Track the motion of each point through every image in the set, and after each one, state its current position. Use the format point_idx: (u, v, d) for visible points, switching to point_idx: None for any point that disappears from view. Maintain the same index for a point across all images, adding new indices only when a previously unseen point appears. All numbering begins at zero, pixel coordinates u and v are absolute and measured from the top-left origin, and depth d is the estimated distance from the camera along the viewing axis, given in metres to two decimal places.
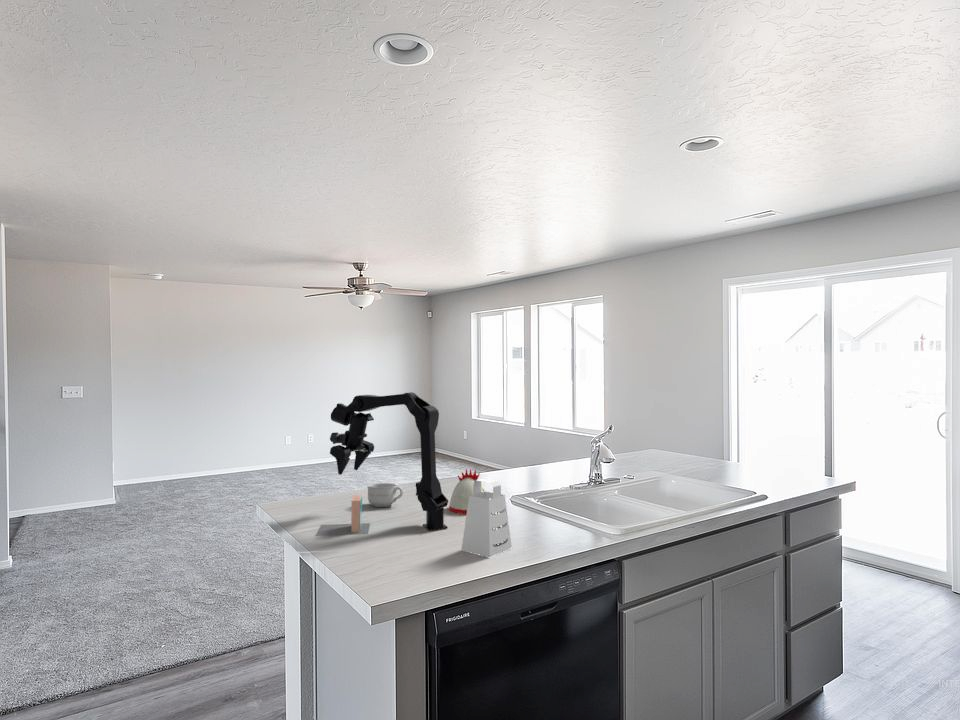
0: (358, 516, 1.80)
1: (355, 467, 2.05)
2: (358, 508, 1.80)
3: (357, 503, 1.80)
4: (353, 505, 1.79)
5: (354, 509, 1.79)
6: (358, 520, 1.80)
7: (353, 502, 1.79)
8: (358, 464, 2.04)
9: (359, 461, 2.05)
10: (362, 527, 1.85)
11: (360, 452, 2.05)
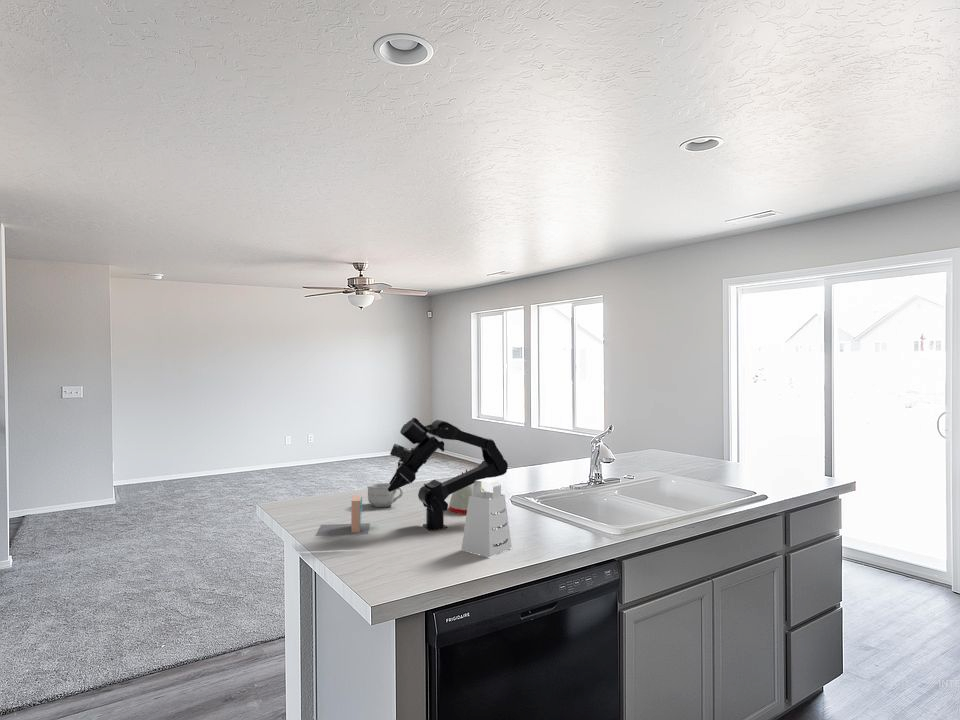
0: (358, 516, 1.80)
1: (391, 482, 1.90)
2: (358, 508, 1.80)
3: (357, 503, 1.80)
4: (353, 505, 1.79)
5: (354, 509, 1.79)
6: (358, 520, 1.80)
7: (353, 502, 1.79)
8: None
9: None
10: (362, 527, 1.85)
11: None
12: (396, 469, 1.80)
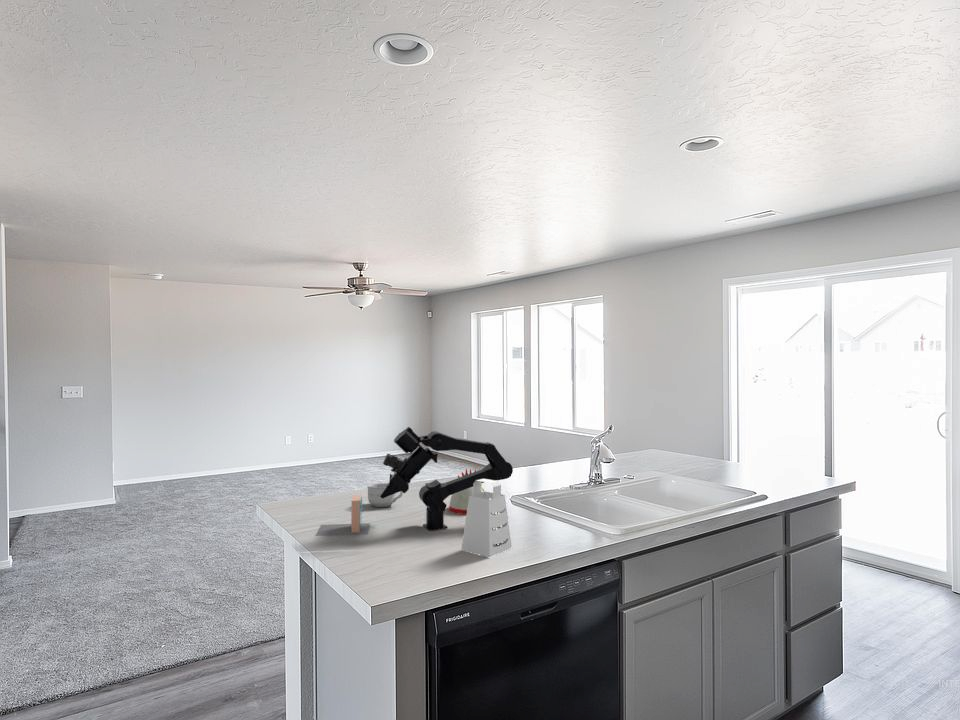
0: (358, 516, 1.80)
1: None
2: (358, 508, 1.80)
3: (357, 503, 1.80)
4: (353, 505, 1.79)
5: (354, 509, 1.79)
6: (358, 520, 1.80)
7: (353, 502, 1.79)
8: None
9: None
10: (362, 527, 1.85)
11: None
12: None
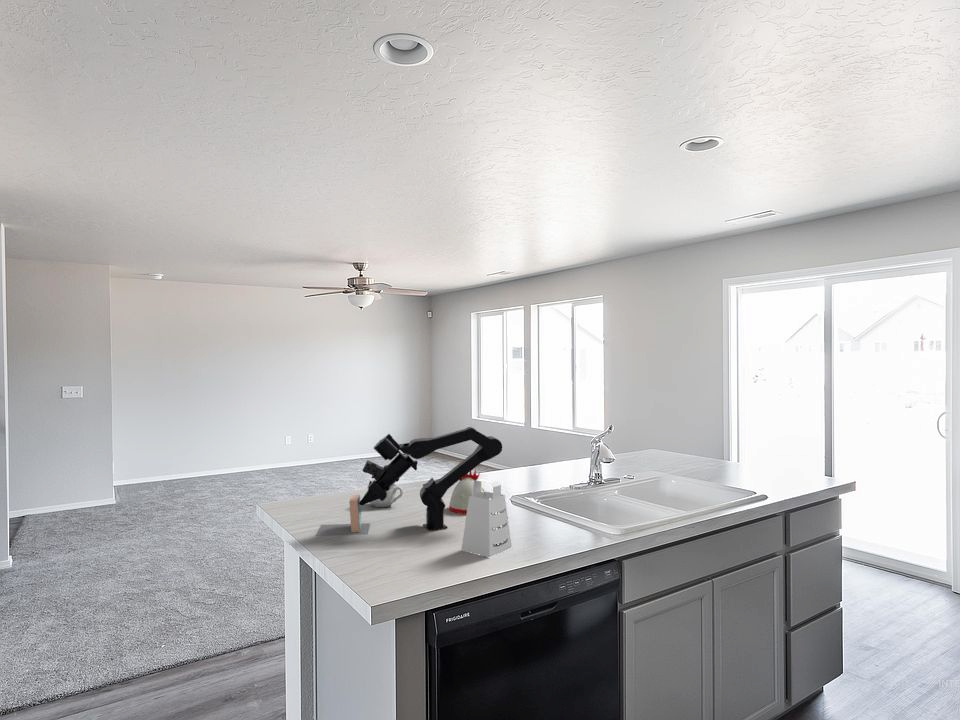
0: (357, 516, 1.80)
1: None
2: (356, 508, 1.80)
3: (355, 503, 1.80)
4: (351, 505, 1.79)
5: (352, 509, 1.79)
6: (357, 520, 1.80)
7: (351, 502, 1.79)
8: None
9: None
10: (362, 527, 1.85)
11: None
12: None
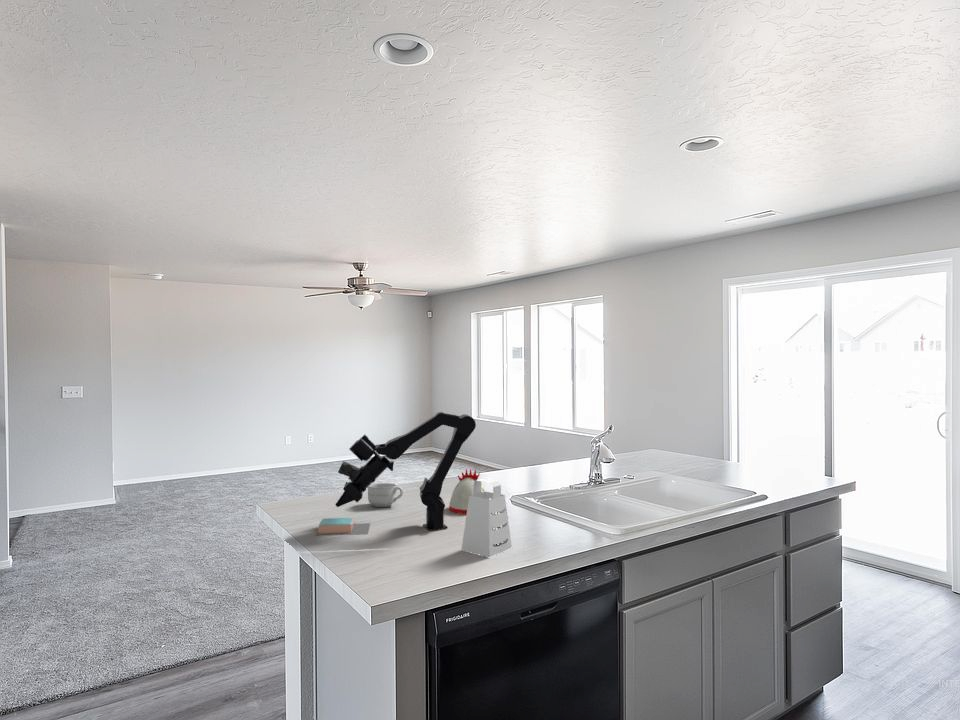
0: (334, 526, 1.79)
1: None
2: (326, 526, 1.78)
3: (321, 527, 1.78)
4: (323, 531, 1.78)
5: (327, 530, 1.78)
6: (338, 526, 1.79)
7: (320, 531, 1.78)
8: None
9: None
10: (362, 527, 1.85)
11: None
12: None
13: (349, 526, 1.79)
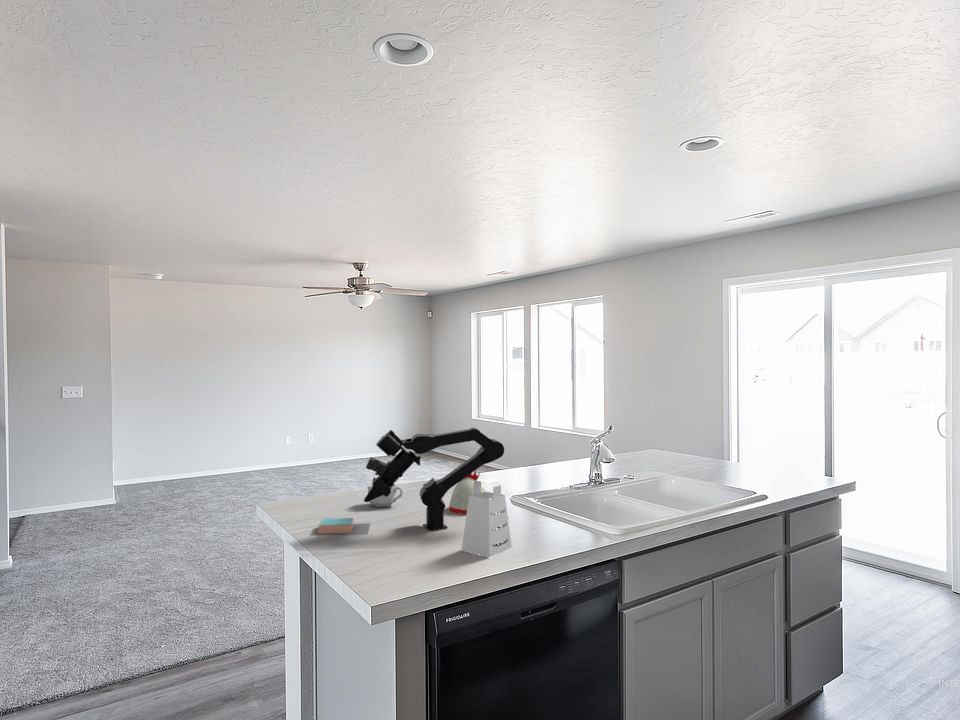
0: (334, 526, 1.79)
1: None
2: (326, 526, 1.78)
3: (321, 527, 1.78)
4: (323, 531, 1.78)
5: (327, 530, 1.78)
6: (338, 526, 1.79)
7: (320, 531, 1.78)
8: None
9: None
10: (362, 527, 1.85)
11: None
12: None
13: (349, 526, 1.79)
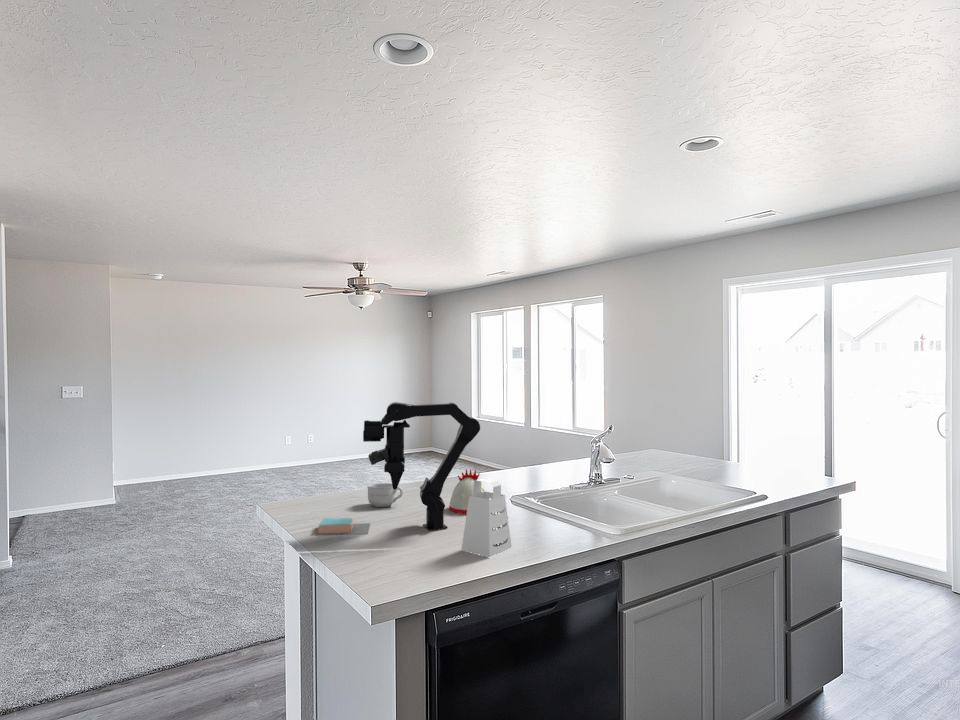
0: (334, 526, 1.79)
1: None
2: (326, 526, 1.78)
3: (321, 527, 1.78)
4: (323, 531, 1.78)
5: (327, 530, 1.78)
6: (338, 526, 1.79)
7: (320, 531, 1.78)
8: None
9: None
10: (362, 527, 1.85)
11: None
12: None
13: (349, 526, 1.79)
